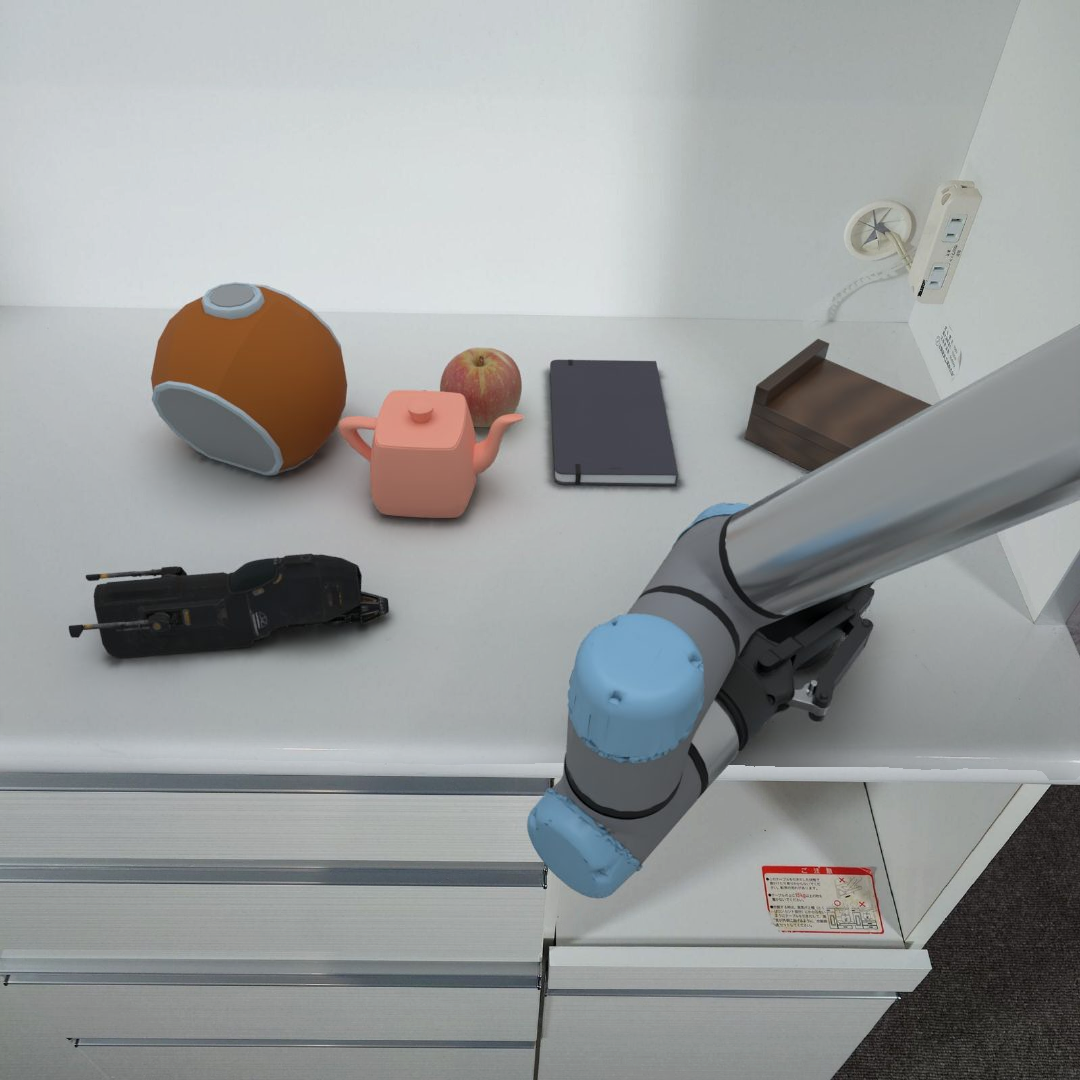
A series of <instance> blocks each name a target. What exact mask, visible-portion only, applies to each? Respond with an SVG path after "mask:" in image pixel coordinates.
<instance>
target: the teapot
mask: <svg viewBox="0 0 1080 1080" xmlns="http://www.w3.org/2000/svg"><path fill="white" fill-rule="evenodd" d="M524 417H525V416H524V415H523V414H520V413H514V414H508V415H503V416H501V417H499V418H498V419H496V420H495V421H494V423H493V424H492V426H491V427H489V428H490V429H489V431H488V434H487V436H486V438H485V439H484V440H482V441H479V442H477V438H476V432H475V427H474V426H473V422H472V418H471V415H470V411H469V408H468V405H467V402H466V400H465V397H464V396H463V395H462V394H460V393H452V392H440V390H439V391H437V390H417V389H414V390H413V389H410V390H409V389H404V390H403V389H399V390H397V389H396V390H392V391H390V392H389V393H388V394H387V395H386V396H385V398H384V400H383V402H382V405H381V407H380V410H379V412H378V416H377V417H372V416H363V415H362V416H361V415H352V416H351V415H350V416H345V417H343V418H342V419H340V420H339V422H338V424H337V429H338V431H339V434H340V435H341V437H342V439H343V440H344V441H345V443H347V444H348V445H349V447H351V448H352V449H353V450H354V451H356V453H358V454H359V455H360V456H361V457H363V458H364V459H365V460H366V461H368V463H369V484H370V485H369V486H370V493H371V494H370V495H371V499H372V502H373V505H374V506H375V508H376V509H377V510H378V512H379V513H381V515H385V516H393V517H394V516H395V517H407V518H427V519H428V518H429V519H430V518H432V519H453V518H459V517H461V516H462V515H463V514H464V513H465V511H466V509H467V507H468V505H469V503H470V500H471V497H472V495H473V493H474V490H475V486H476V482H477V477H478V474H481V473H483V472H484V471H486V470H487V469H490V467H491V466H492V465H493V464H494V462H495V460H496V459H497V456H498V453H499V451H500V446H501V442H502V439H503V436H504V434H505V432H506V431H507V429H508V428H510V426H512V425H513V424H516V423H517V422H520V421H522V420H523V419H524ZM358 430H372V431H374V432H373V436H372V441H371V442H372V443H371V446H370V445H369V444H368V443H367V442H366V441H365V440H364V439H363V438H362V436H361V435H360V433H359V432H358Z"/></svg>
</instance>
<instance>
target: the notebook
mask: <svg viewBox="0 0 1080 1080" xmlns="http://www.w3.org/2000/svg"><path fill="white" fill-rule="evenodd" d="M657 363H658V362H657V360H620V359H619V360H618V359H617V360H613V359H610V360H609V359H608V360H607V359H553V360H551V361H550V363H549V370H550V372H549V390H550V410H551V411H550V413H551V435H552V437H551V438H552V439H551V440H552V464H553V465H552V466H553V479H554V482H555V483H556V484H559V485H563V486H565V485H568V486H570V485H572V486H658V487H659V486H661V487H662V486H663V487H664V486H665V487H667V486H669V487H677V484H678V478H679V471H678V467H677V462H676V461H677V460H676V456H675V451H674V445H673V441H672V436H671V430H670V425H669V421H668V420H669V419H668V415H667V410H666V404H665V399H664V395H663V390H662V383H661V379H660V374H659V369H658V364H657Z"/></svg>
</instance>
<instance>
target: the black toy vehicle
mask: <svg viewBox="0 0 1080 1080" xmlns="http://www.w3.org/2000/svg"><path fill="white" fill-rule="evenodd" d="M360 569H361V568H360V566H359V565H358V564H356V563H354V562H352V561H350V560H347V559H345V558H342V557H338V556H332V555H326V554H313V553H302V554H301V553H300V554H289V555H284V556H282V557H267V558H261V559H255V560H252V561H248V562H246V563H244V564H242V565H241V566H240V567H238V568H236V570H234V571H232V572H229V573H227V572H224V571H222V572H211V573H196V574H187V572H186V571H185V569H184V568H183V567H182V566H176V565H174V566H162V567H161V568H156V569H154V568H152V569H150V570H132V571H122V572H121V571H119V572H106V573H92V574H91V573H90V574H85V579H86V580H87V581H88V582H95V581H98V582H99V580H102V579H114V578H115V579H116V578H127V577H131V578H137V577H140V578H141V577H151V576H152V577H154V578H142V579H132V580H131V579H129V580H117V581H108V582H105V583H99V584H96V586H95V587H94V591H93V608H94V611H95V616H96V621H97V623H91V624H71V625H68V633H69V636H70V638H75V639H76V638H77V639H79V638H80V636H81V635H82V633H83V631H90V630H99V635H100V640H101V643H102V646H103V647H104V649H105V652H106V653H107V654H109V655H110V656H112V657H114V658H116V659H121V658H122V659H123V658H133V657H144V656H145V657H147V656H156V655H168V654H179V653H191V652H202V651H212V650H214V651H215V650H224V649H225V650H226V649H236V648H250V647H253V644H254V642H255V641H259V640H260V639H262V638H266V637H269V636H270V635H271V634H272V633H273V631H275V630H278V629H280V628H283V627H285V626H286V628H287V629H293V628H296V629H297V628H305V627H307V626H312V625H321V626H322V625H323V626H327V627H329V626H330V627H331V626H340V625H341V626H342V625H348V624H351V623H359V622H361V624H362V625H366V624H368V623H370V622H372V621H375V620H377V619H379V618H381V617H383V616H384V615H387V614H389V610H390V607H389V606H390V605H389V598H387V597H383V596H381V595H378V594H375V593H374V594H373V593H370V592H366V591H364V590H363V591H362V582H363V581H362V580H363V579H362V578H363V575H362V572H361V570H360ZM157 576H159V577H157Z"/></svg>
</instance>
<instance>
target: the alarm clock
mask: <svg viewBox="0 0 1080 1080" xmlns="http://www.w3.org/2000/svg"><path fill="white" fill-rule="evenodd" d="M155 349H156V350H155V355H154V361H153V366H152V371H151V376H150V381H151V389H152V396H151V402H152V405H153V406H154V408H155V411H156V412H157V414H158V416H159V417H160V419H162V421H163V422H164V423H165V424H166V425H167V426H168V427H169V428H170V430H171V431H172V432H173V433H174V434H175V435H176V436H177V437H179V438H180V439H181V440H183V441H184V442H185V443H186V444H187V445H189V446H190V447H191V448H192V449H194V450H195V451H197V452H198V453H200V454H201V455H204V456H205V457H206V458H209V459H211V460H214V461H218V462H221V463H224V464H228V465H230V466H234V467H237V468H241V469H244V470H247V471H250V472H254V473H257V474H260V475H263V476H275V475H279V474H281V473H285V472H288V471H291V470H295V469H297V468H298V467H299V466H301V465H303V464H304V463H306V462H307V461H309V460H310V459H312V458H313V457H314V456H315V454H316V453H317V452H318V451H319V450H320V449H321V448H322V446H323V445H324V444H325V443H326V442H327V441H328V440H329V438H330V436H331V435H332V433H333V432H334V431H335V429H336V428H337V427H338V424H339V422H340V421H341V417H342V415H343V412H344V410H345V408H346V404H347V393H348V381H347V373H346V366H345V363H344V357H343V350H342V345H341V343H340V341H339V340H338V338H337V337H336V335H335V333H334V332H333V330H332V328H331V326H330V325H328V323H327V322H326V321H324V319H322V317H321V316H319V315H318V314H317V312H315V311H314V309H312V308H311V307H309V306H308V305H307V304H305V303H303V302H302V301H300V300H299V299H297V298H296V297H295V296H292V295H291V294H289V293H287V292H285V291H283V290H280V289H277V288H274V287H272V286H269V285H267V284H256V283H255V284H254V283H249V282H237V281H236V282H235V281H233V282H228V283H227V282H226V283H222V284H219V285H216V286H214V287H211V288H210V289H208V290H207V291H206V293H205V294H204V295H203V296H201V297H199V298H196V299H195V300H193V301H190V302H188V303H186V304H185V305H184V306H182V308H180V309H179V310H178V311H177V312H176V313H175V314H174V315H173V316H172V317H171V318H170V319H169V320H168V322H167V324H166V326H165V327H164V329H163V331H162V333H161V335H160V337H159V338H158V340H157V344H156V348H155Z"/></svg>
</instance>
